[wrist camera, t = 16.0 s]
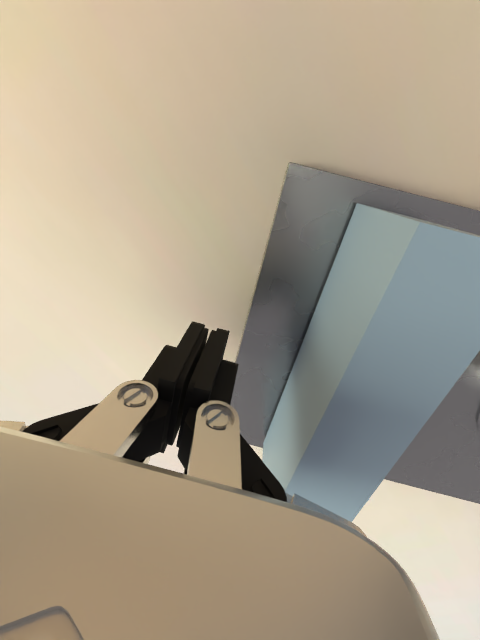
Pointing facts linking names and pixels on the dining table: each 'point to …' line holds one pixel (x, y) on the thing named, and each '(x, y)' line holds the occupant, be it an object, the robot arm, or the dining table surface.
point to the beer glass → (478, 422)
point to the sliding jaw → (375, 356)
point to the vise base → (299, 306)
